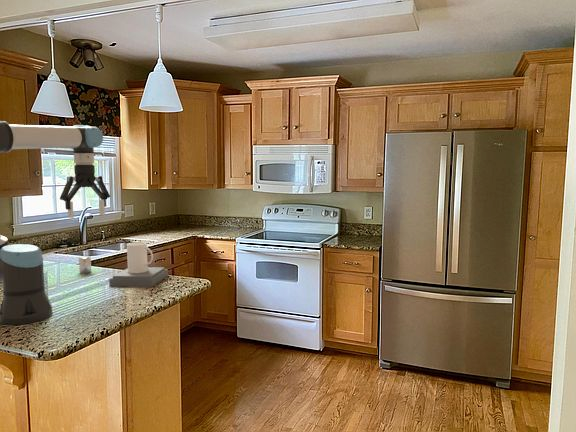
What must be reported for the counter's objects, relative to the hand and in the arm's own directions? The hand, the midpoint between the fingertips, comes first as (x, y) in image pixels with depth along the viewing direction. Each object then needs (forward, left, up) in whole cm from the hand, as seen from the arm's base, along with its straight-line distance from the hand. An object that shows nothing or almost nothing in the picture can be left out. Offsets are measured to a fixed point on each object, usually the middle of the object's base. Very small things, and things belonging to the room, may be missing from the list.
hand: (86, 216), depth 183 cm
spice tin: (+19, +13, -29) cm, 37 cm away
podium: (+6, -19, -28) cm, 34 cm away
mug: (+6, -19, -25) cm, 32 cm away
